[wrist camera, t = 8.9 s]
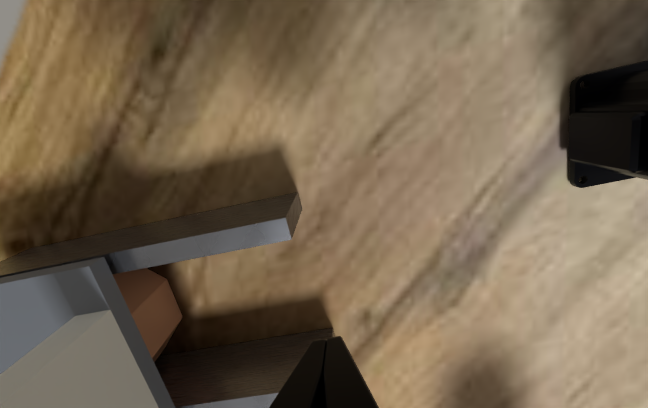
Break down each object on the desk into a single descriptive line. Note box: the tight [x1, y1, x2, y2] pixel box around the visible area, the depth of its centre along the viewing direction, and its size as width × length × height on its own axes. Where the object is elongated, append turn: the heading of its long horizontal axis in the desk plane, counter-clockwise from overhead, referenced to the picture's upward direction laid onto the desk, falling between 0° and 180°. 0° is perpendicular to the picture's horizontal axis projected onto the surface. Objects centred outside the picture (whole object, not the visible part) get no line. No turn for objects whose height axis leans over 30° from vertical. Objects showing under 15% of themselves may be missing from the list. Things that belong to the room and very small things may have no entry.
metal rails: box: [0, 192, 335, 408], centre depth 20 cm, size 20×12×5 cm, turn 103°
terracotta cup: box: [112, 268, 183, 362], centre depth 21 cm, size 8×8×5 cm
